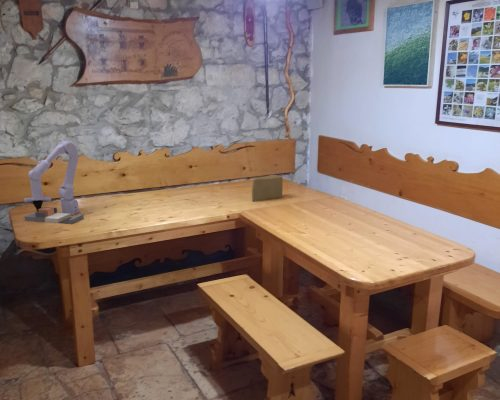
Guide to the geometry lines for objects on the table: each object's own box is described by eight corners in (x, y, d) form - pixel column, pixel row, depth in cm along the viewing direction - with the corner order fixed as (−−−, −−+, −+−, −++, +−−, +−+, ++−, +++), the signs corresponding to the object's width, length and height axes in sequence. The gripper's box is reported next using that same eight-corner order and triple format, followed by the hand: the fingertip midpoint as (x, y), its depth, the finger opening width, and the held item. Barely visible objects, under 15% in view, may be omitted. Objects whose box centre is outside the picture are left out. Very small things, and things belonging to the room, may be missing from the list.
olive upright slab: (257, 203, 325) (256, 180, 321) (248, 200, 332) (247, 178, 329) (283, 197, 338) (283, 175, 334) (274, 195, 345) (273, 173, 342)
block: (54, 213, 298) (53, 207, 297) (48, 216, 293) (47, 209, 292) (45, 213, 299) (44, 206, 298) (39, 215, 294) (38, 209, 293)
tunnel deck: (83, 218, 296) (82, 209, 294) (71, 224, 285) (70, 214, 284) (38, 215, 305) (36, 206, 303) (24, 220, 294) (23, 211, 293)
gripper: (51, 188, 298) (53, 210, 302) (25, 189, 296) (28, 211, 300) (48, 191, 292) (51, 213, 295) (22, 192, 289) (25, 215, 293)
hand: (39, 212), depth 297 cm, fingers closed
